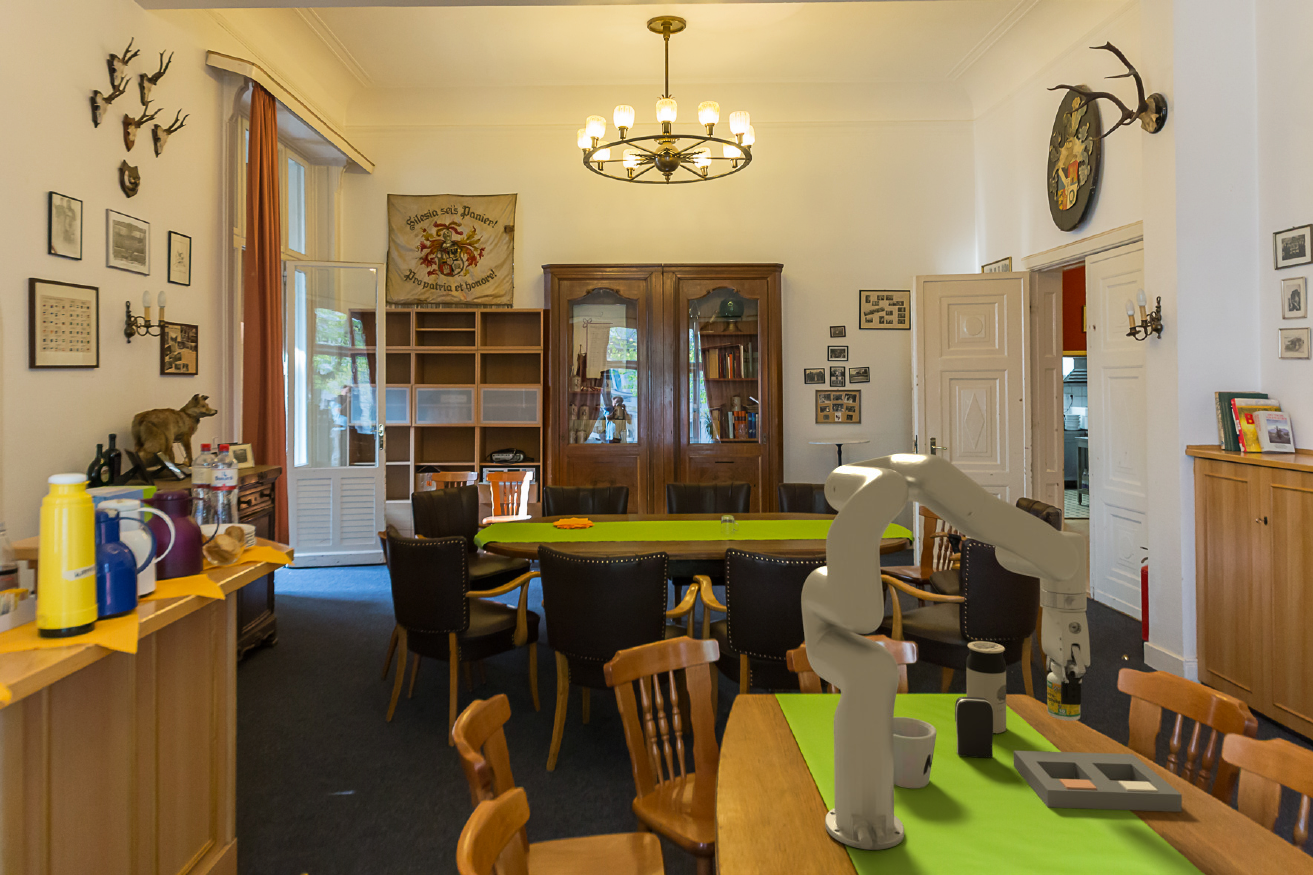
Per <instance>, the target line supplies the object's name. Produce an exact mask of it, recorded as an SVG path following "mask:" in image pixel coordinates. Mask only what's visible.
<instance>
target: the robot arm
mask: <svg viewBox="0 0 1313 875" xmlns="http://www.w3.org/2000/svg"><path fill="white" fill-rule="evenodd" d="M827 476H828V477H827V478H826V480H825V482H824V486H823V488H824V489H823V490H824V491H823V492H824V497H825V499H826V501H827V503H828V504H829V506H830V507H832V509H834V510H836V511H837V512H838V513H837V514H836V516H835V518H834V519H833V520H832V523H831V524H830V527H829V529H828V531H827V536H826V540H825V541H826V542H825V556H826V557H825V558H826V559H825V562H826V565H824V566H820V567H818V568H815V569H814V570H812V571H811V572H810V574H809V575H808V576H807V578H806V579H805V582H804V583H803V586H802V591H801V594H800V595H801V597H800V598H801V599H800V600H801V601H800V604H801V615H802V624H803V625H802V626H803V632H804V643H805V644H804V645H805V651H806V656H807V660H808V663H809V666H810V667H811V669H812V670H813V671H814V673H815V674H816V675H817V676H818V677H819V678H821V679H822V680H825V681H826V682H828V683H829V684H830V685H833V686H835V687H836V688H837V689H839V690H840V699H839V701H838V703H837V705H836V708H835V712H834V715H833V716H834V717H833V718H834V719H833V751H834V752H833V758H834V760H833V763H834V764H833V766H834V767H833V768H834V769H833V770H834V771H833V773H834V774H833V775H834V779H833V780H834V781H833V782H834V786H833V787H834V808H832V809H830V810H829V811H828V812H827V814H826V815H825V817H824V823H825V826H824V827H825V829H826V832H828V834H829V835H830V836H831V837H832V838H834V839H835V840H836V841H838V842H840V843H841V844H844V845H846V846H848V847H853V848H857V849H861V850H869V851H872V850H873V851H878V850H879V851H880V850H886V849H890V848H893V847H895V846H897V845H898V844H900V843H901V842H902V841H903V840H904V838H905V826H904V823H903V822H902V821H901V819H899V818H898V816H896V815H895V784H894V739H893V718H894V717H895V716H894V714H895V704H896V698H897V694H898V693H897V691H898V688H899V685H900V684H899V682H900V669H899V664H898V662H897V660H896V658H895V656H894V655H893V654H892V652H891V651H889V650H888V648H886V647H884V646H883V645H882V644H880V643H878V642H876V641H875V640H872V639H870V638H867V637H865V636H864V634H865V635H866V634H871V633H873V632H875V631H876V630H877V629H878V628H879V627H880V626H881V624H882V622H883V619H884V615H885V614H884V613H885V608H884V606H885V603H884V591H883V582H882V573H881V563H880V562H881V558H880V555H881V554H880V548H881V546H880V545H881V540H882V539H883V536H884V534H885V531H886V530H887V529H888V527H889V526H890V524H892V522H893V521H894V520H895V519H896V518H897V517H898V516H899V515H900V513H901V512H902V511H903V510H904V508H905V507H906V505H907V502H914V503H915V502H916V503H918V504H920V505H922V506H923V507H925V508H926V509H928V510H929V511H930V512H932V513H933V514H935V515H936V516H938V518H940V519H941V520H943V521H944V522H945V523H947V524H948V525H950V526H951V527H952V528H954V530H956V531H958V532H959V533H961V534H962V535H964V536H967V537H969V538H971V539H973V540H975V541H978V542H981V543H983V544H987V545H990V546H994V547H995V550H994V551H995V552H994V553H995V558H996V560H997V562H998V563H999V565H1000V566H1001V567H1003V568H1004V569H1005V570H1007V571H1010V572H1012V573H1016V574H1020V575H1024V576H1029V577H1033V578H1038V579H1039V593H1040V594H1039V606H1040V607H1041V608H1042V614H1041V615H1042V616H1041V649H1042V652H1043V653H1044V655H1045V660H1046V664H1045V668H1046V677H1047V676H1048V674H1049V673H1051V672H1053V671H1052V670H1051V662H1052V661H1056V662H1057V663H1059V664H1060V665H1061V667H1062V674H1063V681H1061V703H1063V704H1064V705H1080V706H1081V704H1082V682H1083V680H1082V679H1083V677H1084V675H1085V673H1086V668H1088V667H1089V666H1091V648H1090V634H1089V624H1088V617H1087V615H1086V614H1087V613H1086V611H1087V606H1088V605H1087V604H1088V603H1087V595H1088V594H1087V540H1086V538H1085V537H1084V535H1083V534H1080V533H1078V532H1072V531H1065V530H1064V531H1063V530H1057V528H1055V527H1053V526H1052V525H1051V524H1049V523H1048V522H1046V521H1044V520H1043V519H1041V518H1039V517H1037V516H1035V515H1033V514H1031V513H1029V512H1027V511H1026V510H1023V509H1021V508H1020V507H1017V506H1015V505H1013V504H1012V503H1010V502H1008V501H1006V500H1003V499H1001V498H999V497H997V496H995V495H993V494H992V493H991V492H989V491H988V490H987V489H986V488H984V487H983V486H981V485H980V484H979V483H977V482H976V481H975V480H973V479H972V478H971V477H970V476H969V475H967V474H966V473H964V472H963V471H962V470H961V469H959V467H957V466H955V465H954V464H952V462H950V461H949V460H947V459H946V458H945V457H942V456H939V455H936V454H932V453H931V454H930V453H912V452H902V453H895V454H889V455H885V456H881V457H875V458H871V459H866V460H862V461H857V462H852V463H847V464H843V465H840V466H838V467H836V468H835V469H834V470H832V471H831V472H830V474H829V475H827ZM1067 662H1071V663H1073V664H1074V665H1067V664H1068V663H1067ZM1067 668H1074V669H1073V671H1070V673H1069V674H1068V669H1067Z"/></svg>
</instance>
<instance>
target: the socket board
mask: <svg viewBox="0 0 1313 875" xmlns="http://www.w3.org/2000/svg"><path fill="white" fill-rule="evenodd" d="M1013 767H1014V768H1015V769H1016V771H1017V772H1018V774H1020V776H1021V777H1022V778H1023V779H1024V780H1025V781H1026V783H1027V784H1028V785H1029V787H1031V789H1032V790H1033V791H1034V792H1035V794H1036V795H1037V796H1038V797H1039V799H1040V800H1041V801H1042V802H1043V804H1045V806H1046V807H1047V808H1060V809H1061V808H1063V809H1064V808H1065V809H1067V808H1068V809H1088V810H1089V809H1090V810H1091V809H1093V810H1115V811H1117V810H1118V811H1119V810H1120V811H1121V810H1123V811H1143V812H1145V811H1150V812H1175V813H1177V812H1179V813H1181V812H1183V807H1182V806H1183V803H1182V802H1183V799H1182V798H1183V797H1182V796H1183V794H1182V793H1180V791H1178V790H1177V789H1176V788H1174V787H1173V786H1172V785H1171V784H1170V783H1169V782H1168V781H1166V780H1165V779H1164V778H1162V777H1161V776H1160V775H1159V774H1158V773H1156V772H1155V771H1154V770H1153V769H1151V768H1150V767H1149V766H1147V765H1146V764H1145V763H1144V762H1143V761H1142V760H1140V759H1139V758H1138V757H1137V756H1135V755H1134V754H1133V753H1112V752H1110V753H1108V752H1107V753H1106V752H1105V753H1103V752H1102V753H1101V752H1076V751H1075V752H1074V751H1073V752H1072V751H1071V752H1070V751H1043V750H1042V751H1039V750H1038V751H1035V750H1033V751H1032V750H1013Z"/></svg>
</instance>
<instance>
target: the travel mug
mask: <svg viewBox="0 0 1313 875" xmlns="http://www.w3.org/2000/svg"><path fill="white" fill-rule="evenodd" d="M967 647H968V648H969V649H968V650H969V654H968V656H967V657H966V697H980V698H985V699H986V700H987V701H988V702H989V703H990V704H991V705H992V708H993V733H996V734H1000V733H1003V732H1006V730H1007V661H1006V660H1005V659H1004V656H1003V655H1004V651H1006V648H1005V647H1004V646H1003V645H1001V644H998V643H995V642H991V641H971V642H968V643H967Z"/></svg>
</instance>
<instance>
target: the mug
mask: <svg viewBox="0 0 1313 875" xmlns="http://www.w3.org/2000/svg"><path fill="white" fill-rule="evenodd" d="M893 739H894V786H898V787H901V788H904V789H921V788H922V789H923V788H924V787H926V786H928V784H929V783H930V777H931V771H932V765H933V760H934V752H935V746H936V740H937V729H936V727H935V726H934V725H932V724H931V723H929V722H927V721H924V720H922V719H917V718H913V717H907V716H906V717H905V716H894V718H893Z"/></svg>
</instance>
